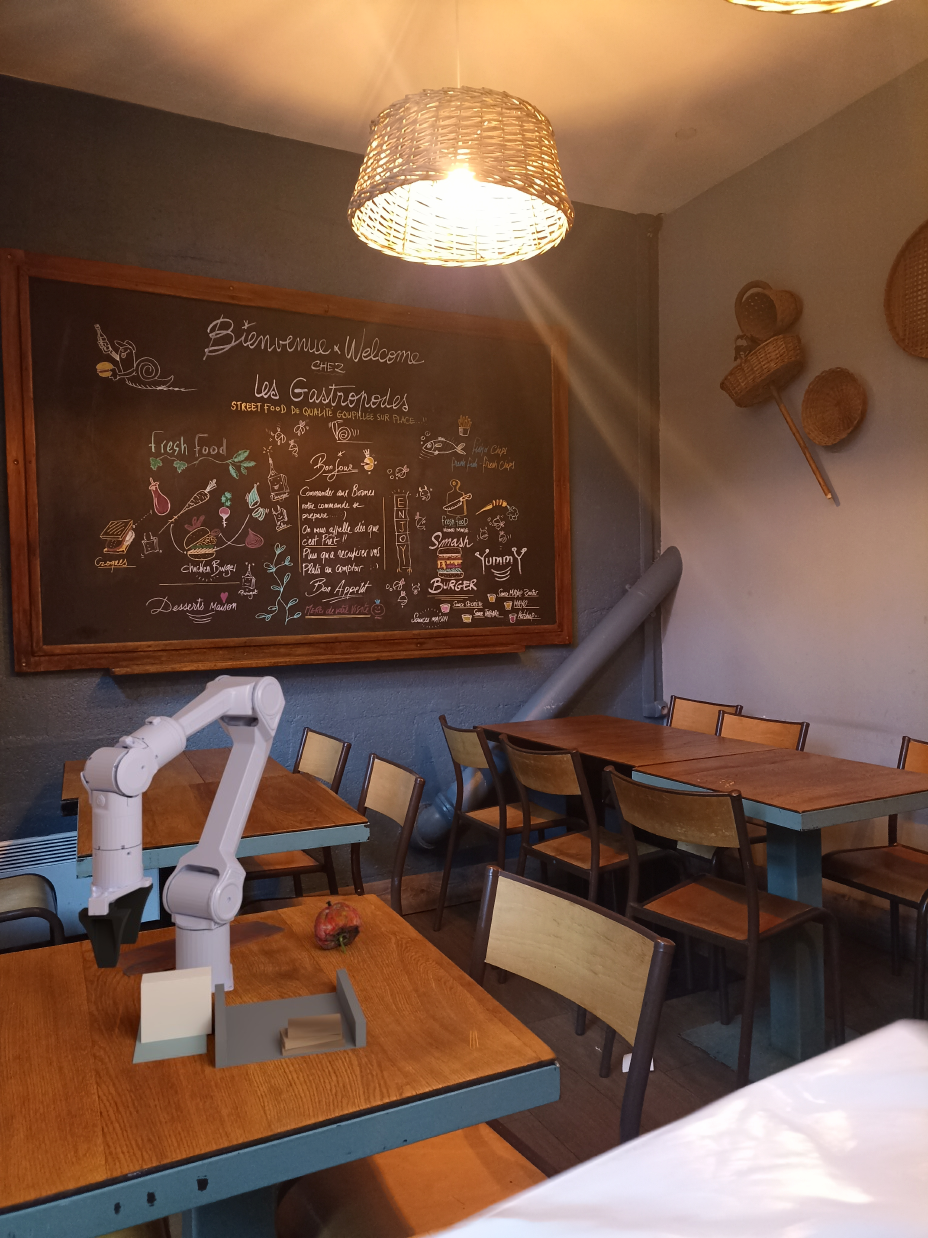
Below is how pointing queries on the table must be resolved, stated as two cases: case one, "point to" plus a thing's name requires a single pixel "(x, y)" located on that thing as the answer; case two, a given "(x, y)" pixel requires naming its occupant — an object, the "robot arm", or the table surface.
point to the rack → (281, 1023)
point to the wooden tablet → (165, 952)
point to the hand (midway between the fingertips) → (117, 954)
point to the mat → (168, 1047)
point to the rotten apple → (337, 925)
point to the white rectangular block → (176, 1004)
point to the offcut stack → (312, 1034)
